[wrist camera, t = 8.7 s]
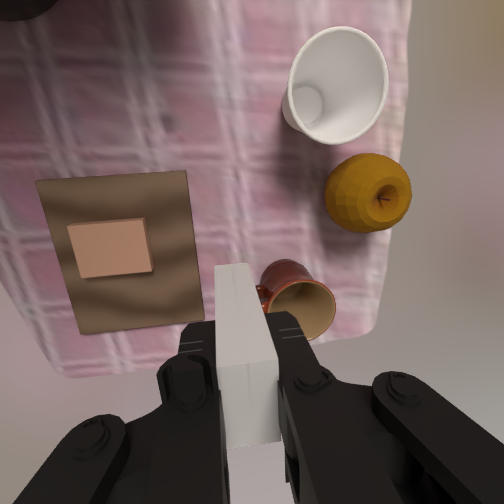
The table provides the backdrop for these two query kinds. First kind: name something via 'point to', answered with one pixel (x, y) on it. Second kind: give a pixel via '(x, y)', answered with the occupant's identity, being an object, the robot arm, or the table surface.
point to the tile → (111, 247)
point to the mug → (297, 296)
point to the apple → (367, 193)
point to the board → (161, 242)
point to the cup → (336, 86)
